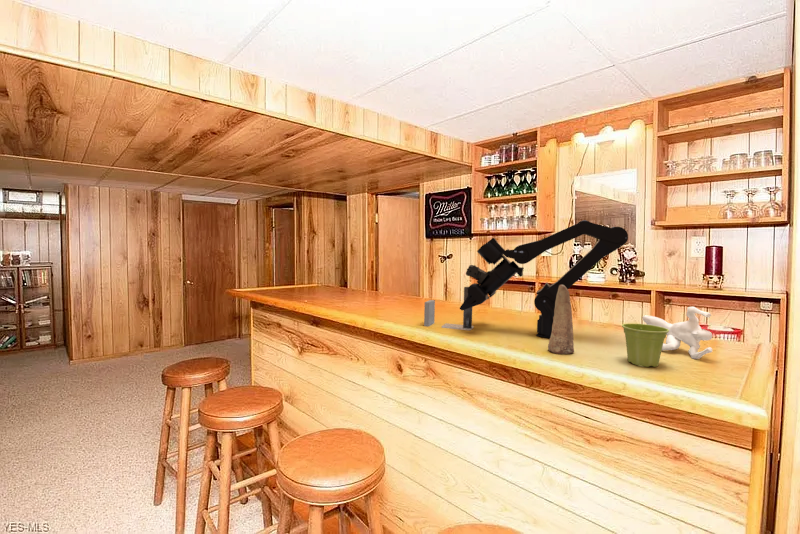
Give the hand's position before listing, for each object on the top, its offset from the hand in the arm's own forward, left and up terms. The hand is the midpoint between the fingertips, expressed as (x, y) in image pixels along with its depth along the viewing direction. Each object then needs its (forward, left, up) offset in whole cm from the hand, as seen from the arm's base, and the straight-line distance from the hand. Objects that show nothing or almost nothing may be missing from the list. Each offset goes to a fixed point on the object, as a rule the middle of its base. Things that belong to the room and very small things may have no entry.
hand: (463, 307), depth 129 cm
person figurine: (-56, -15, -7) cm, 58 cm away
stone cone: (-34, +7, -7) cm, 35 cm away
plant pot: (-51, +4, -7) cm, 52 cm away
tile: (+11, +4, -7) cm, 13 cm away
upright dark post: (+2, +1, -7) cm, 7 cm away
